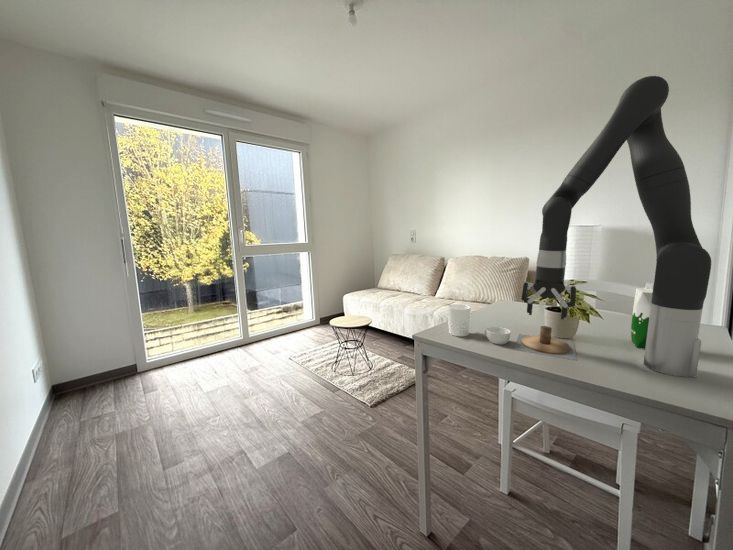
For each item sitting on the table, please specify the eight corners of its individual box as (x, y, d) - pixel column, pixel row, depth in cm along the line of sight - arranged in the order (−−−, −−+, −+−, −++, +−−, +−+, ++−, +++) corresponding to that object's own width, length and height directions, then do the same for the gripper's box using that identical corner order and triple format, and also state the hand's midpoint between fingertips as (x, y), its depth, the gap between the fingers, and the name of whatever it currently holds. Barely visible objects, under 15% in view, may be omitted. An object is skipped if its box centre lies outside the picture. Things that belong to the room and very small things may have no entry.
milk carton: (673, 354, 89) (682, 287, 86) (633, 348, 93) (640, 285, 90) (663, 344, 96) (671, 283, 93) (626, 339, 101) (633, 280, 98)
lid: (568, 342, 97) (569, 325, 96) (570, 357, 86) (572, 337, 85) (523, 335, 103) (524, 319, 103) (519, 348, 93) (521, 330, 92)
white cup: (444, 335, 107) (445, 308, 106) (449, 328, 114) (450, 303, 113) (467, 338, 103) (468, 310, 102) (471, 331, 110) (472, 305, 109)
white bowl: (520, 345, 97) (521, 331, 96) (500, 352, 92) (501, 337, 92) (494, 336, 106) (495, 323, 105) (474, 342, 101) (475, 328, 100)
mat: (573, 343, 97) (573, 342, 97) (577, 362, 84) (577, 360, 84) (518, 335, 106) (518, 333, 106) (513, 351, 92) (513, 349, 92)
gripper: (578, 265, 91) (572, 317, 93) (525, 262, 98) (521, 310, 101) (580, 268, 84) (573, 323, 87) (523, 265, 92) (519, 316, 94)
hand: (545, 316), depth 94 cm, fingers open, 8 cm apart
